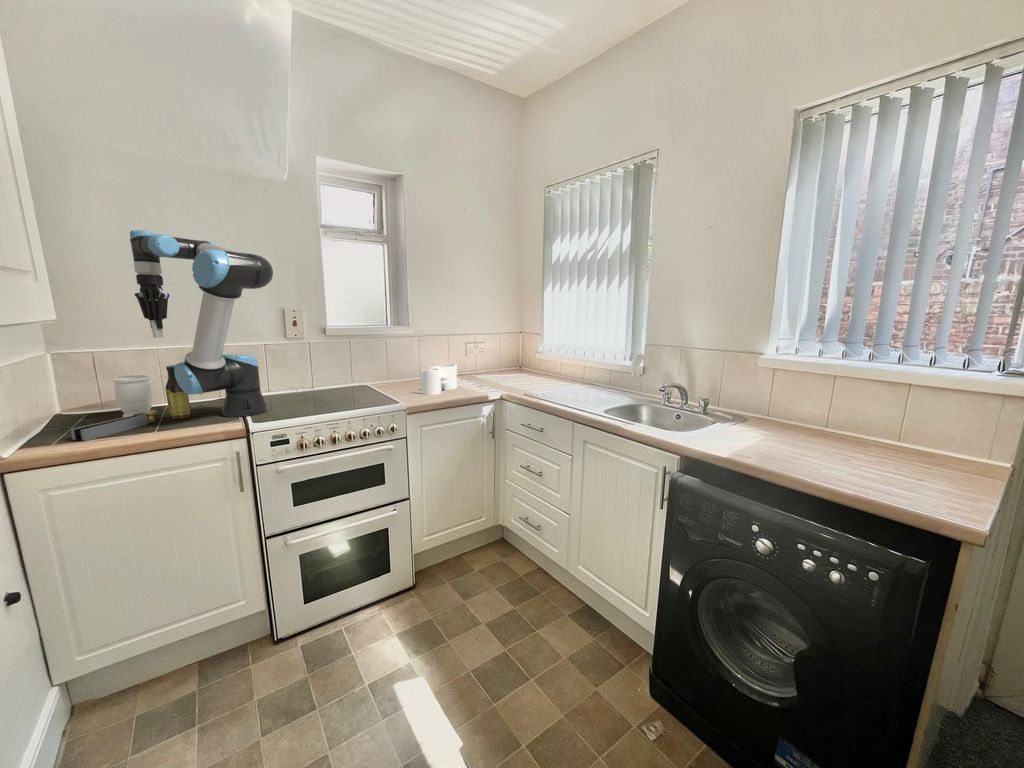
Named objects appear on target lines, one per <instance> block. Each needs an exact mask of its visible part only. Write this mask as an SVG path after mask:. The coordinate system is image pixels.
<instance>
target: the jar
mask: <svg viewBox="0 0 1024 768" xmlns="http://www.w3.org/2000/svg"><path fill="white" fill-rule="evenodd" d="M150 379H151V376H150V375H145V374H144V375H143V374H141V375H139V374H138V375H137V374H136V375H126V376H119V377H115V378H112V382H113V383H115V384H114V396H115V399H116V403H117V404H118V406H119V407H118V408H119V410H120V411H122V413H123V414H122V418H123V417H127V416H132V415H133V414H137V413H141V412H144V411H150V410H152V409H151V408H152V406H153V396H154V395H153V393H154V392H153V387H152V384H151V382H150V381H149V380H150Z"/></svg>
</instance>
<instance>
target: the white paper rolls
mask: <svg viewBox="0 0 1024 768" xmlns="http://www.w3.org/2000/svg"><path fill="white" fill-rule="evenodd" d="M420 376H421V377H420V378H421V379H420V380H421V383H420V384H421V395H425V396H438V395H441V394H442V391H443V390H444V391H445V390H447V391H450V390H451V391H452V390H456V389H457V388H458V364H455V363H453V364H452V363H443V364H442V365H441V366H440V365H436V366H433V367H432V366H431V367H427V370H426V369H420Z"/></svg>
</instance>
